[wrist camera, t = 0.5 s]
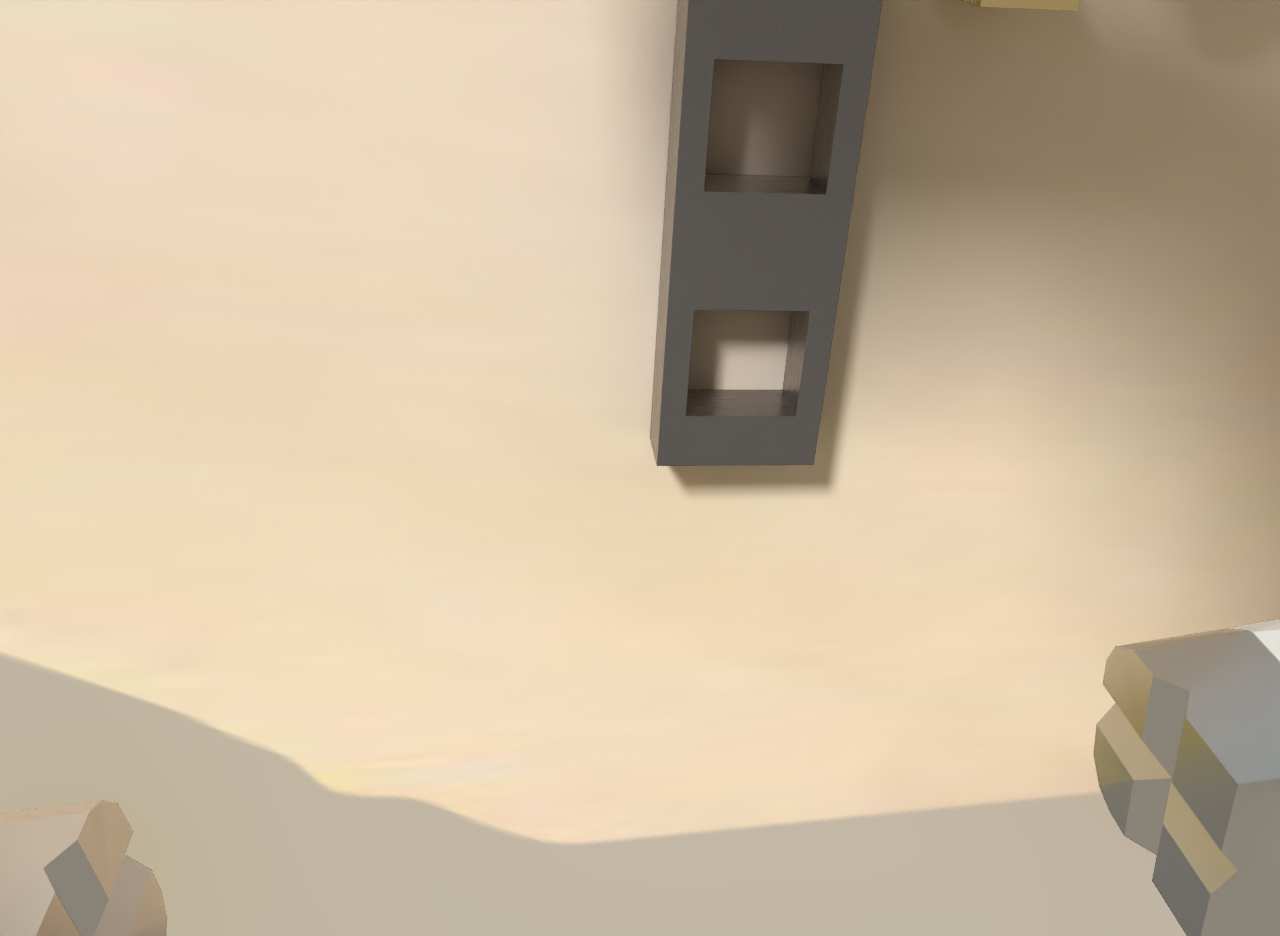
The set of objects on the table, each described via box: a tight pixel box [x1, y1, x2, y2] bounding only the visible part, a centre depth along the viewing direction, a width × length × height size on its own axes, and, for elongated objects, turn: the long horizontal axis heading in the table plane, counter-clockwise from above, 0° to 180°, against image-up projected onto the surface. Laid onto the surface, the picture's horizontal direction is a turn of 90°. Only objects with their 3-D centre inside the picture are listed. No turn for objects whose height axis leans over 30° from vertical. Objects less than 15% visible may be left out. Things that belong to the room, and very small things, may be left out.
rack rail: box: [650, 0, 882, 466], centre depth 51 cm, size 22×8×3 cm, turn 177°
